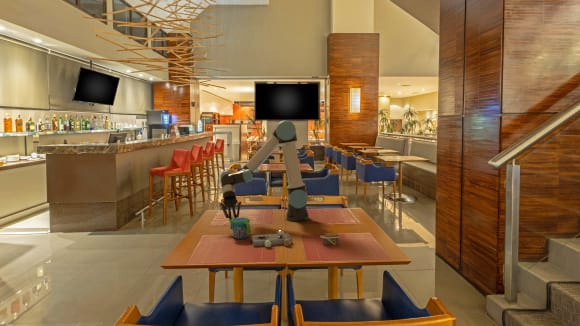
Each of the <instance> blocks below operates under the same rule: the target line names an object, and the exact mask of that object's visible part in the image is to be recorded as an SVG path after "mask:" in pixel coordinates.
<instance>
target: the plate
mask: <svg viewBox="0 0 580 326" xmlns="http://www.w3.org/2000/svg"><path fill="white" fill-rule="evenodd" d="M286 239H289V240H290V241H291V244H290V245H293V238H292V237H291V235H290V234H289V233H288V232H287V233H285V232H284V235H283V236H282V237H279V236H278V235H277V233H268V234H267V233H266V234H253V235H252V234H251V243H252V246H253V248H254V247H266V246H265V241H267V240H269V241H270V242H271V246H280V245H281V246H283V245H284V246H285V244H284V241H285V240H286Z"/></svg>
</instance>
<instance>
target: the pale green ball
mask: <svg viewBox="0 0 580 326" xmlns="http://www.w3.org/2000/svg"><path fill="white" fill-rule="evenodd" d="M271 246H272V245H271V242H270V241H269V240H267V241H265V246H264V247H265V248H270V247H271Z"/></svg>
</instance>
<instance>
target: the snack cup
mask: <svg viewBox="0 0 580 326" xmlns="http://www.w3.org/2000/svg"><path fill="white" fill-rule="evenodd" d="M230 222H231V223H230ZM250 222H251V219H250V218H249V217H248V218H247V217H238V218H234V219H231V221H230V220H229V223H230V227H229V228H230V230H232V234H233V238H234V239H236V240H242V239H246V238H248V237H249V236H248V235H250V234H251V233H252V230H251V229H252V228H251V226H250Z"/></svg>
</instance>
